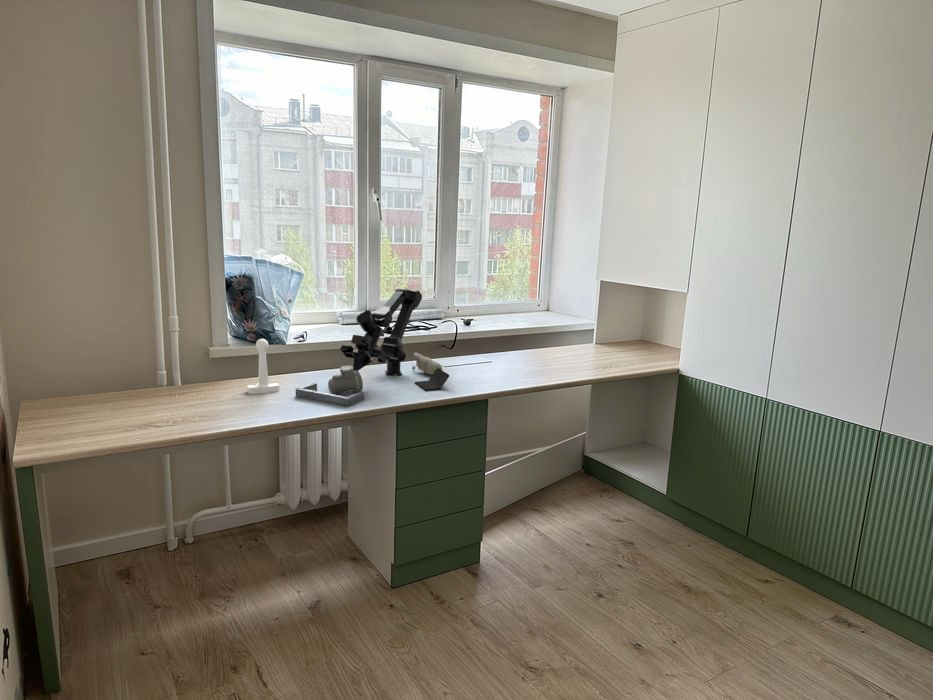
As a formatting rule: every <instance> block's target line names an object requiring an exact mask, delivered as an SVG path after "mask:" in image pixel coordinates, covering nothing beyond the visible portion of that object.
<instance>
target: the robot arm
mask: <svg viewBox="0 0 933 700" xmlns="http://www.w3.org/2000/svg"><path fill="white" fill-rule="evenodd" d="M422 299H423V295H422V293H421V292H420V290H417V289H407V288H402V287H401V288H400V287H398V288H396V289H395V291H394V293H393V294H392V295H391V297H389V299H388V300H387V301H386V302H385V304H384V305H383V306H382V307H381V308H377V309H375V311H374V312H373V313H372V312H371V310H367V309H365V311H364V312H363V311H362V312H360V314H359V315H357V316H356V322H357V324H358V325H359V327H360V328H361V329H362V330H363V332H365V334H364V336H363V335H359V334H352V337H351V341H350V343H351V344H354V347H355V348H354V347H353V346H352V345H351V344H342V345H341V346H340V348H339V350H340V352H341V353H342V354H343V356H344V357H345V358H347V359H353V365H352V366H353V368H354V370H353V371H356V370H357V371H358V372H359V371H360V370H361V369H363V368H364V367H366V366H368V365H370V364H372V363H373V359H374V358H376V359H377V363H380V364H386V370H385V374H386V376H402V375H403V373H402V371H401V362H404V361H405V360H406V353H405V352H404V350H403V348H404V345H403V338H404V335H405V331H406V330H407V327H408V324H409V322H410V319H411V316H412V313H413V311H414V310H416V309H417V308H418V307H419V306H420V303H421V301H422ZM400 306H401V308H400V310H399V313H398V315H397V318H396V321H395V323H394V325H393V328H392V331H391V333H390V335H389V336H385V333H384V330H383V329H382V328H388V327H389V326H390V325H391V324H392V322H393V315H394V313H395V312H396V311H397V310H398V308H399V307H400ZM381 337H383V341H382V343H381V345H380V349H377V348H378V342H379V340H380V338H381Z"/></svg>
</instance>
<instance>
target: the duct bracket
mask: <svg viewBox="0 0 933 700" xmlns="http://www.w3.org/2000/svg"><path fill="white" fill-rule="evenodd" d="M295 398H300V399H305V400H310V401H315V402H321V403H326V404H331V405H336V406H341V407H346V408H349V407H351V406H354V405H356V404H358V403H361V402H363V401H365V399H366V392H365V391H363V390H362V391H359V392H355V393H353V394H350V395H349V396H344V395H339V394H332V393H328V392H322V391H319V390H318V383H317V382H312V383H308V384H305V385H302V386H301V387H300V386H299V387H297V388H295Z"/></svg>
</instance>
